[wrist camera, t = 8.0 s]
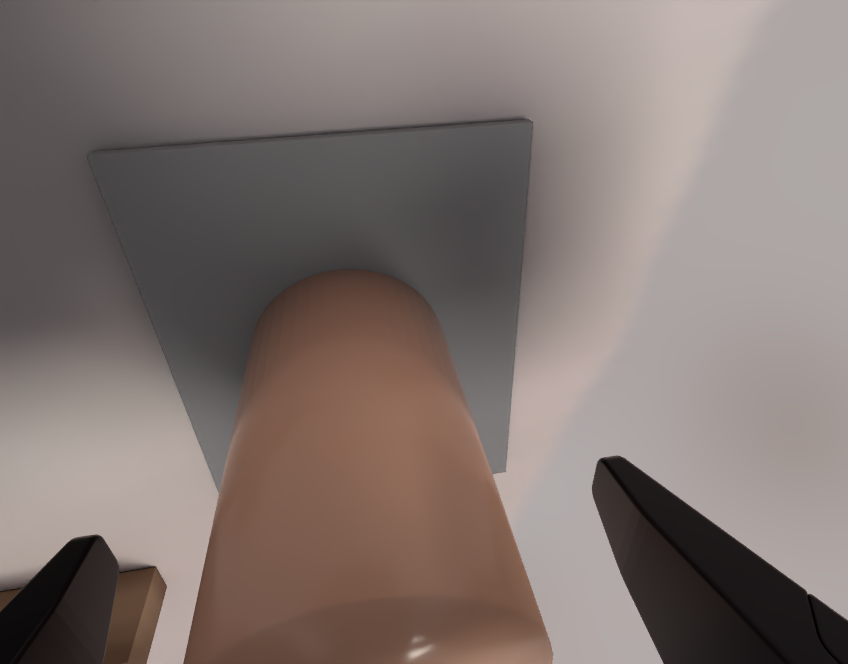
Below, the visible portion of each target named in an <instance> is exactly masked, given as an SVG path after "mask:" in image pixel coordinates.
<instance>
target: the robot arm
mask: <svg viewBox="0 0 848 664" xmlns="http://www.w3.org/2000/svg"><path fill="white" fill-rule="evenodd" d="M592 494H593V498H594V501H595V504H596V506H597V509H598V512H599V515H600V518H601V520H602V523H603V526H604V529H605V532H606V534H607V537H608V540H609V543H610V545H611V548H612V551H613V554H614V557H615V560H616V562H617V565H618V567H619V570H620V573H621V575H622V577H623V580H624V582H625V584H626V586H627V588H628V590H629V593H630V595H631V596H632V599H633V601H634V603H635V605H636V607H637V609H638V611H639V613H640V615H641V617H642V620H643V621H644V624H645V626H646V628H647V630H648V632H649V634H650V636H651V638H652V640H653V642H654V644H655V647H656V648H657V650H658V653H659V655H660V657H661V659H662V661H663V663H664V664H848V620H847V619H845V618H844V617H842V616H841V615H840V614H838V613H837V612H835V611H834V610H832V609H831V608H829V607H828V606H827V605H826V604H824V603H823V602H821V601H820V600H819V599H817V598H816V597H815V596H813V595H812V594H807V592H806V590H805V589H803V588H802V587H800V586H799V585H798V584H797V583H795V582H794V581H792V580H791V579H790V578H788V577H787V576H785V575H784V574H783V573H781V572H780V571H779V570H777V569H776V568H775V567H773V566H772V565H770V564H769V563H767V562H766V561H765V560H764V559H762V558H761V557H759V556H758V555H757V554H755V553H754V552H752V551H751V550H750V549H748V548H747V547H746V546H744V545H743V544H742V543H740V542H739V541H737V540H736V539H735V538H733V537H732V536H730V535H729V534H728V533H726V532H725V531H724V530H722V529H721V528H720V527H718V526H717V525H715V524H714V523H713V522H711V521H710V520H709V519H707V518H706V517H705V516H703V515H702V514H700V513H699V512H698V511H696V510H695V509H693V508H692V507H691V506H689V505H688V504H686V503H685V502H684V501H683V500H681V499H680V498H678V497H677V496H676V495H674V494H673V493H671V492H670V491H669V490H667V489H666V488H665V487H663V486H662V485H661V484H659V483H658V482H656V481H655V480H654V479H652V478H651V477H650V476H648V475H647V474H645V473H644V472H643V471H641V470H640V469H638V468H637V467H636V466H634V465H633V464H632V463H630V462H629V461H627V460H626V459H625V458H623V457H621V456H611V457H604V458H601V459H599V461H598V463H597V466H596V471H595V475H594V480H593V485H592ZM118 576H119V565H118V562H117V559H116V558H115V556H114V555H113V553H112V551H111V550H110V548H109V547H108V545H107V544H106V542H105V540H104V539H103V538H102V537H101V536H99V535H89V536H82V537H77V538H74V539H72V540H70V541H69V542H68V543H67V544H66V545H65V546H64V547H63V548H62V549H61V550H60V551H59V552H58V553H57V554H56V555H55V556H54V557H53V558H52V559H51V560H50V561H49V562H48V563H47V564H46V565H45V566H44V567H43V568H42V569H41V570H40V571H39V572H38V573H37V574H36V575H35V576H34V577H33V578H32V579H31V580H30V581H29V582H28V583H27V584H26V585H25V586H24V587H23V588H22V589H21V590H20V591H19V592H18V593H17V594H16V595H15V596H14V597H13V599H12V600H11V601H10V602H9V603H8V604H7V605H6V606H5V607H4V608H3V609H2V610H1V611H0V664H103V661H104V656H105V651H106V645H107V639H108V633H109V628H110V622H111V616H112V611H113V605H114V599H115V593H116V588H117V582H118Z"/></svg>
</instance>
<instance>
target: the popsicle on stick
mask: <svg viewBox="0 0 848 664" xmlns="http://www.w3.org/2000/svg"><path fill="white" fill-rule="evenodd" d="M552 660H553V652H552V648H551V643H550V640H549V637H548V634H547V632H546V629H545V626H544V623H543V620H542V617H541V614H540V611H539V608H538V605H537V602H536V600H535V597H534V594H533V591H532V588H531V585H530V582H529V579H528V576H527V574H526V571H525V568H524V565H523V562H522V559H521V556H520V554H519V550H518V547H517V545H516V542H515V539H514V536H513V533H512V530H511V527H510V524H509V521H508V518H507V516H506V513H505V510H504V507H503V504H502V501H501V498H500V495H499V492H498V490H497V487H496V484H495V481H494V478H493V475H492V472H491V469H490V466H489V463H488V461H487V458H486V455H485V452H484V449H483V446H482V443H481V440H480V437H479V435H478V432H477V429H476V426H475V423H474V420H473V417H472V414H471V411H470V408H469V406H468V403H467V400H466V397H465V394H464V391H463V388H462V385H461V382H460V379H459V377H458V374H457V371H456V368H455V365H454V362H453V359H452V356H451V353H450V351H449V348H448V345H447V342H446V339H445V336H444V333H443V330H442V327H441V324H440V322H439V320H438V317H437V315H436V313H435V312H434V310H433V309H432V307H431V306H430V304H429V303H428V302H427V301H426V300H425V299H424V297H423V296H421V295H420V294H419V293H418V292H417V291H416V290H414V289H413V288H412V287H410V286H408V285H407V284H405V283H404V282H402V281H400V280H397V279H395V278H393V277H391V276H388V275H384V274H381V273H378V272H372V271H367V270H356V269H347V270H334V271H328V272H323V273H320V274H316V275H313V276H310V277H308V278H305V279H303V280H300V281H298V282H297V283H295V284H293V285H291V286H290V287H288V288H286V289H285V290H284V291H283V292H281V293H280V294H279V295H277V296H276V297H275V298H274V299H273V300H272V301H271V302H270V303H269V304H268V306H267V307H266V309H265V310H264V311H263V313H262V314H261V316H260V318H259V320H258V322H257V324H256V326H255V329H254V332H253V335H252V340H251V345H250V350H249V355H248V359H247V364H246V369H245V374H244V378H243V383H242V388H241V393H240V397H239V402H238V407H237V412H236V416H235V421H234V426H233V431H232V435H231V440H230V445H229V450H228V454H227V459H226V464H225V469H224V473H223V478H222V483H221V488H220V492H219V497H218V502H217V507H216V511H215V516H214V521H213V526H212V530H211V535H210V540H209V545H208V549H207V554H206V559H205V564H204V568H203V573H202V578H201V583H200V587H199V592H198V597H197V602H196V606H195V611H194V616H193V621H192V625H191V630H190V635H189V640H188V644H187V649H186V654H185V659H184V663H183V664H552Z"/></svg>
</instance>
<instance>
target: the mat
mask: <svg viewBox="0 0 848 664" xmlns="http://www.w3.org/2000/svg"><path fill="white" fill-rule="evenodd" d="M532 129H533V122H532V121H530V120H529V119H527V120H513V121H500V122H486V123H473V124H459V125H445V126H432V127H418V128H404V129H391V130H377V131H363V132H350V133H336V134H323V135H309V136H295V137H282V138H268V139H254V140H241V141H227V142H213V143H200V144H186V145H172V146H159V147H145V148H132V149H118V150H104V151H92V152H90V153H89V154H87V155H86V156H87V159H88V162H89V164H90V167H91V169H92V172H93V174H94V177H95V179H96V182H97V184H98V187H99V189H100V192H101V195H102V197H103V200H104V202H105V205H106V207H107V210H108V212H109V215H110V217H111V220H112V223H113V225H114V228H115V230H116V233H117V235H118V238H119V240H120V243H121V245H122V248H123V251H124V253H125V256H126V258H127V261H128V263H129V266H130V268H131V271H132V273H133V276H134V279H135V281H136V284H137V286H138V289H139V291H140V294H141V296H142V299H143V301H144V304H145V306H146V309H147V312H148V314H149V317H150V319H151V322H152V324H153V327H154V329H155V332H156V334H157V337H158V340H159V342H160V345H161V347H162V350H163V352H164V355H165V357H166V360H167V362H168V365H169V368H170V370H171V373H172V375H173V378H174V380H175V383H176V385H177V388H178V390H179V393H180V396H181V398H182V401H183V403H184V406H185V408H186V411H187V413H188V416H189V418H190V421H191V424H192V426H193V429H194V431H195V434H196V436H197V439H198V441H199V444H200V446H201V449H202V451H203V454H204V457H205V459H206V462H207V464H208V467H209V469H210V472H211V474H212V477H213V479H214V482H215V485H216V487H217V490H218V492H220V488H221V483H222V478H223V473H224V469H225V464H226V459H227V454H228V450H229V445H230V440H231V435H232V431H233V426H234V421H235V416H236V412H237V407H238V402H239V397H240V393H241V388H242V383H243V378H244V374H245V369H246V364H247V359H248V355H249V350H250V345H251V340H252V335H253V332H254V329H255V326H256V324H257V322H258V320H259V318H260V316H261V314H262V313H263V311H264V310H265V309H266V307H267V306H268V304H269V303H270V302H271V301H272V300H273V299H274V298H275V297H276V296H277V295H279V294H280V293H281V292H283V291H284V290H285V289H286V288H288V287H290V286H291V285H293V284H295V283H297V282H298V281H300V280H303V279H305V278H308V277H310V276H313V275H316V274H320V273H323V272H328V271H334V270H347V269H356V270H367V271H372V272H378V273H381V274H384V275H388V276H391V277H393V278H395V279H397V280H400V281H402V282H404V283H405V284H407V285H408V286H410V287H412V288H413V289H414V290H416V291H417V292H418V293H419V294H420V295H421V296H423V297H424V299H425V300H426V301H427V302H428V303H429V304H430V306H431V307H432V309H433V310H434V312H435V313H436V315H437V317H438V320H439V322H440V324H441V327H442V330H443V333H444V336H445V339H446V342H447V345H448V348H449V351H450V353H451V356H452V359H453V362H454V365H455V368H456V371H457V374H458V377H459V379H460V382H461V385H462V388H463V391H464V394H465V397H466V400H467V403H468V406H469V408H470V411H471V414H472V417H473V420H474V423H475V426H476V429H477V432H478V435H479V437H480V440H481V443H482V446H483V449H484V452H485V455H486V458H487V461H488V463H489V466H490V469H491V472H492V474H495V473H502V472H506V461H507V449H508V436H509V423H510V410H511V397H512V385H513V372H514V359H515V346H516V334H517V321H518V308H519V295H520V282H521V270H522V257H523V244H524V231H525V219H526V206H527V193H528V180H529V167H530V155H531V142H532Z"/></svg>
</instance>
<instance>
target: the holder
mask: <svg viewBox="0 0 848 664" xmlns="http://www.w3.org/2000/svg"><path fill="white" fill-rule="evenodd" d="M166 588H167V586H166V585H165V583H164V581H163V579H162V578H161V576H160V574H159V572H158V571H157V569H156V567H154V568H148V569H142V570H136V571H130V572H123V573H119V576H118V582H117V588H116V593H115V599H114V605H113V611H112V616H111V622H110V628H109V633H108V639H107V645H106V651H105V656H104V661H103V664H146V663H147V659H148V655H149V652H150V648H151V644H152V641H153V637H154V633H155V629H156V626H157V622H158V618H159V614H160V611H161V607H162V603H163V599H164V596H165V592H166ZM20 590H21V589H17V590H11V591H5V592H0V611H1V610H2V609H3V608H4V607H5V606H6V605H7V604H8V603H9V602H10V601H11V600H12V599H13V597H14V596H15V595H16V594H17V593H18V592H19V591H20Z"/></svg>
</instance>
